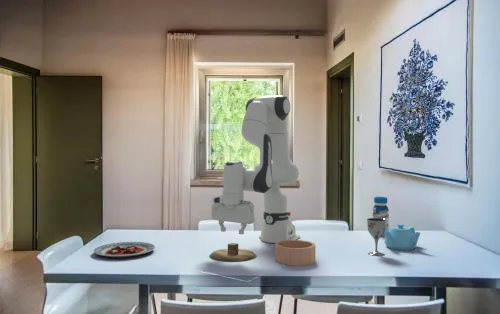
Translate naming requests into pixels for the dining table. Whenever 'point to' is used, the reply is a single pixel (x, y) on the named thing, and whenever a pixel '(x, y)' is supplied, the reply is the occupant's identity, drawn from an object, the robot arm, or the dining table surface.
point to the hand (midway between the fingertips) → (232, 232)
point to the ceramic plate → (124, 249)
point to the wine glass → (376, 232)
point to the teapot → (401, 237)
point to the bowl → (295, 252)
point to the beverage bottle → (381, 209)
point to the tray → (232, 261)
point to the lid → (233, 253)
